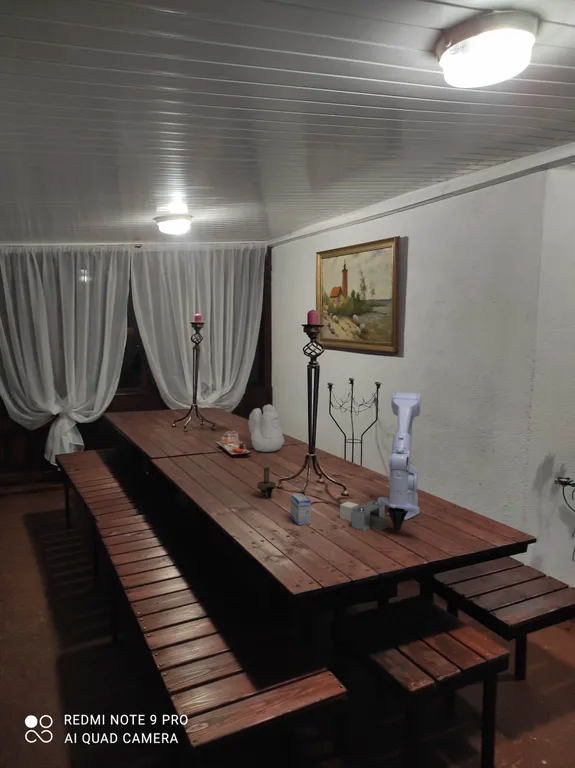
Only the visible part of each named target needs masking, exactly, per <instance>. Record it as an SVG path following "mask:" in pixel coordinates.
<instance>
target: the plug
mask: <svg viewBox="0 0 575 768" xmlns="http://www.w3.org/2000/svg"><path fill="white" fill-rule="evenodd" d="M358 506H359V504H358V503H354V502H351V501H345V502H343V503H340V505H339V519H341V518H342V519H341V520H344V519H346V520H345V521H347V520H349V521H348V522H350V521H351V520H352V509H353V508H355V507H358ZM351 522H352V521H351ZM371 527H372V529H376V530H379V531H381V530H383V531H384V529H385V530H387V529H388V518H386V517H384V518H382V517H379V516H376V515H372V514H370V526H369V528H371ZM386 528H387V529H386Z"/></svg>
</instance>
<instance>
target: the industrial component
mask: <svg viewBox="0 0 575 768" xmlns="http://www.w3.org/2000/svg"><path fill="white" fill-rule="evenodd" d="M256 485H257V487H256V488H257V489H258V490H260V498H262V499H266V498H267V499H271V498H272V499H273V491H274V490H275V489H276V488H277V485H276V482H275V481H270V466H267V465H266V466H264V467H263V480H262V481H259V482H258V483H257V484H256Z"/></svg>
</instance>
